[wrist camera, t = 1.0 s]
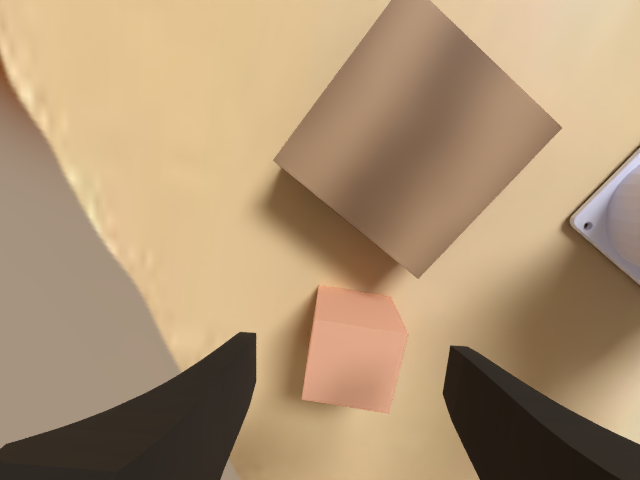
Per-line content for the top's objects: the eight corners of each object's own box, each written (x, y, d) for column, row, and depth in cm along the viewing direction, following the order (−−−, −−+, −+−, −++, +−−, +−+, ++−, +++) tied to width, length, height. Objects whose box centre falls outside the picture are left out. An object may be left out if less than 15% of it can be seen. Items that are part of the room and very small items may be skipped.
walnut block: (513, 136, 18) (562, 127, 14) (401, 258, 20) (418, 278, 16) (390, 22, 17) (407, -22, 13) (284, 162, 19) (272, 160, 15)
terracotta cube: (390, 296, 21) (408, 334, 16) (376, 359, 22) (389, 413, 17) (318, 284, 21) (314, 319, 16) (308, 348, 22) (301, 399, 17)
